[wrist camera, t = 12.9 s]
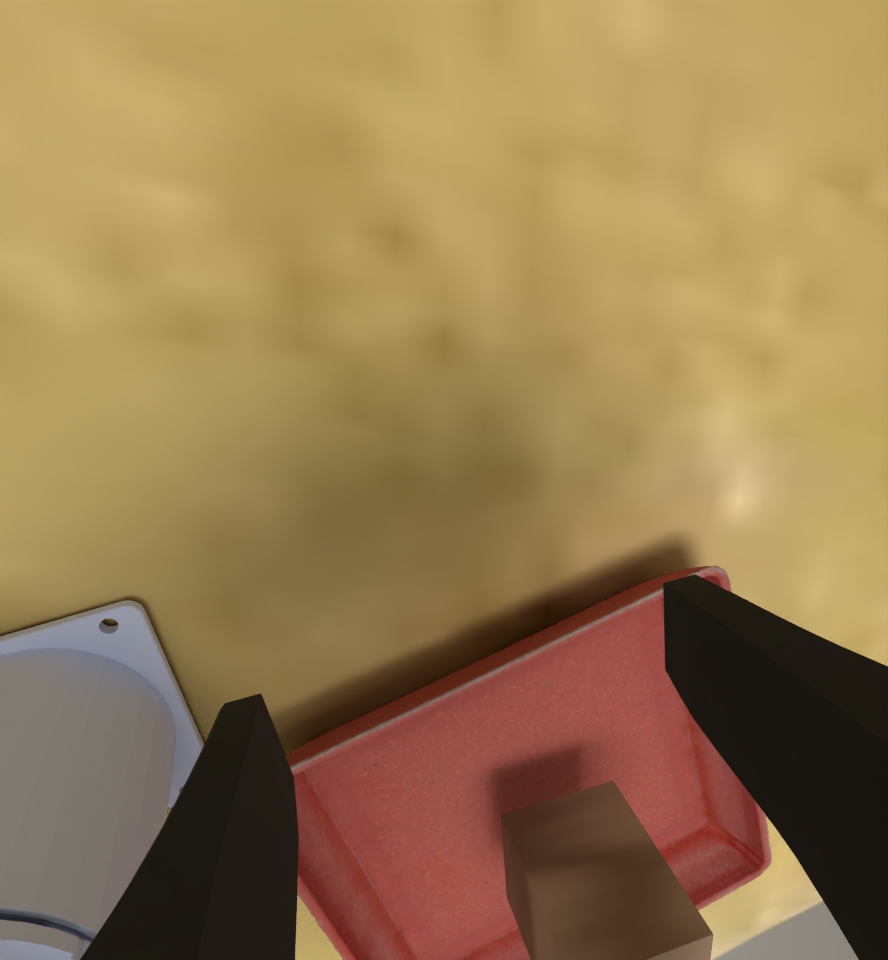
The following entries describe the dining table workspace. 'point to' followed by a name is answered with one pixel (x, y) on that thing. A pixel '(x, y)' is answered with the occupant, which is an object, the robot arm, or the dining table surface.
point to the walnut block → (596, 883)
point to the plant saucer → (512, 785)
